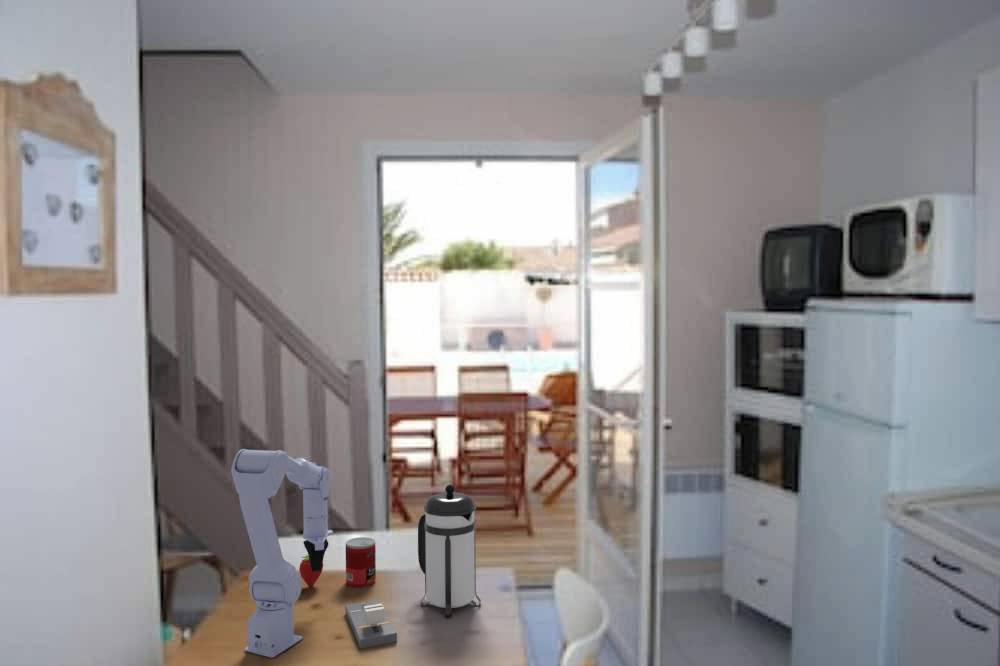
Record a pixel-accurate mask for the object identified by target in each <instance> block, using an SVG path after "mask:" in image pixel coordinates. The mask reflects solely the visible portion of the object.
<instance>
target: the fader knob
mask: <svg viewBox="0 0 1000 666" xmlns="http://www.w3.org/2000/svg"><path fill="white" fill-rule="evenodd" d="M384 610H385V607H384V606H383V604H382V603H381V604H375V605H369V606H364V621H365V623H366V625H370V624H371V626H372V627H373V626H377V623H381V622H384Z"/></svg>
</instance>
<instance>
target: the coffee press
mask: <svg viewBox="0 0 1000 666" xmlns="http://www.w3.org/2000/svg"><path fill="white" fill-rule="evenodd" d="M444 490H445V492H439V493H437V494H434V495H432V496H430V497H429V498H428V499H427V500H426V502H425V504H424V505H423V511H424V513H425V514H422V516H420V518H419V521H418V525H417V555H418V556H417V557H418V558H417V559H418V564H419V567H420V570H421V572H422V573H423V574H424V587H425V588H424V596H422V598H421V600H420V605H421V607H426V606H427V605H428V604H431V605H433V606H435V607H438V608H443V609H445V611H444V618H452V611H453V609H454V608H455V609H456V608H461V607H464V606H467V605H468V604H470V603H472V604H473V606H475V607H477V606H476V603H477V602H476V601H475V600H474V597H475V598H476V600H478V602H479V603H478V604H479V606H478V607H480V606H481V603H482V600H481V599H480V597H479V596H478V594H477V576H476V575H477V573H476V572H477V565H476V564H477V563H476V562H477V561H476V559H477V557H476V555H477V554H476V549H477V548H476V541H477V540H476V532H475V530H476V518H475V511H476V510H477V504H476V503H475V502H474V499H473V498H472V497H471V496H470V495H468V494H465V493H462V492H455V491H456V490H455V486H453V485H452V484H447V485H446V486H445V489H444ZM425 597H426V599H427V602H426V603H424V602H422V601H423V600H425Z"/></svg>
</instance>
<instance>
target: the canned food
mask: <svg viewBox="0 0 1000 666" xmlns="http://www.w3.org/2000/svg"><path fill="white" fill-rule="evenodd" d="M376 551H377V550H376V539H374V538H371V537H367V536H366V537H362V536H361V537H355V538H350V539H348V540H346V542H345V582H346V584H347V585H348V586H350V587H352V588H353V587H354V588H366V587H368V586H372V585H373V584H375V582H376V577H377V574H376V573H377V568H376V566H377V564H376V559H377V558H376V554H377V553H376Z"/></svg>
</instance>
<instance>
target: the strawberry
mask: <svg viewBox="0 0 1000 666" xmlns="http://www.w3.org/2000/svg"><path fill="white" fill-rule="evenodd" d="M301 558H303V559H302V560H301V562H300V565H299V573H300V574H299V575H300V578H301V579H302V580H303V581H304V582H305V584H306V585H307V587H309V588H312V587H314V585H315V583H316V582H317V581H318V580H319V577H320V575H322V572H323V569H324V562H323V563H322V568H321V571H314V572H312V569H311V566H310V561H309V556H308V554H306V555H305V556H301Z"/></svg>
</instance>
